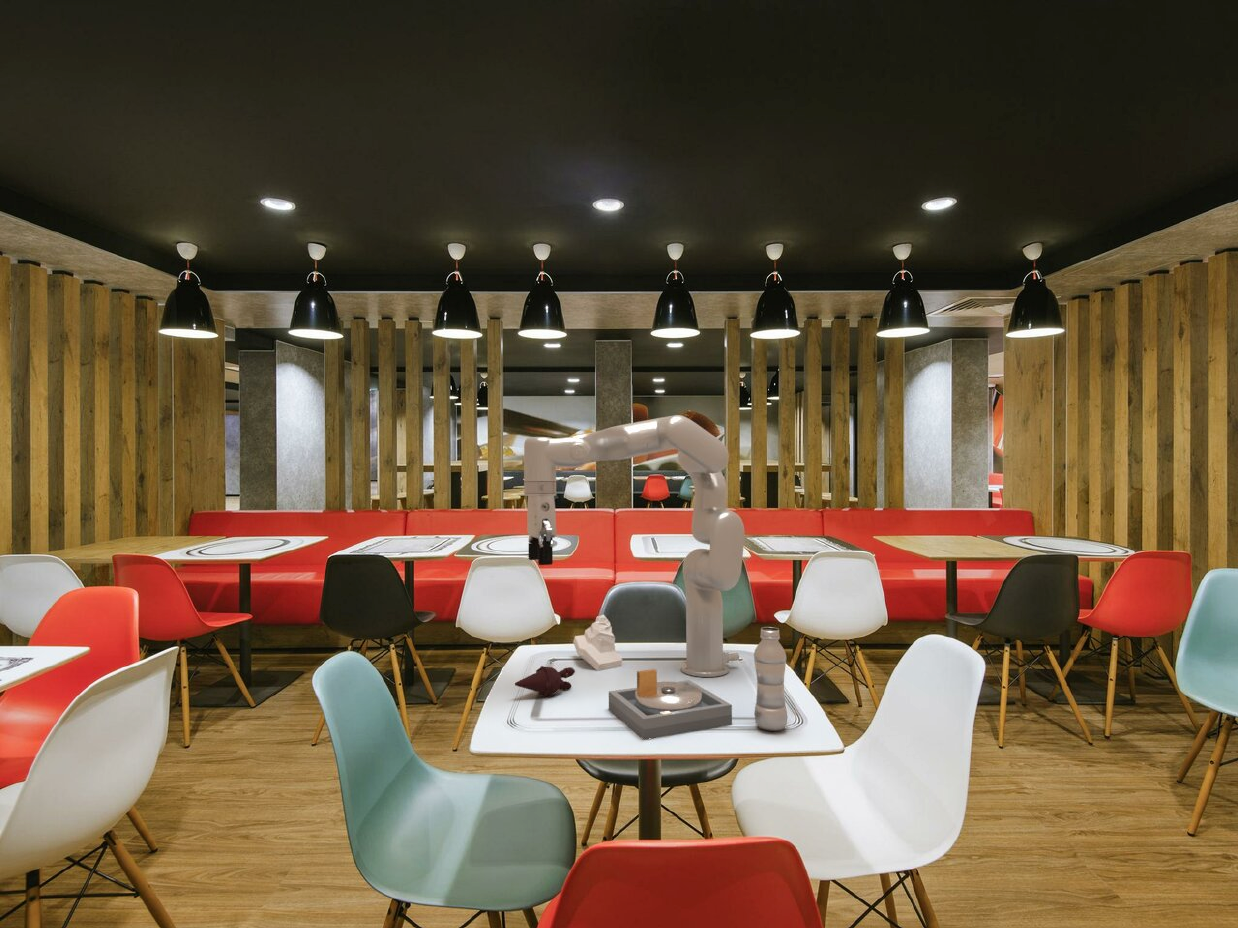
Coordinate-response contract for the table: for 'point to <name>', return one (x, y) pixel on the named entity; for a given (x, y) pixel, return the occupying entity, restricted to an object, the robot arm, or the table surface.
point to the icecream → (547, 680)
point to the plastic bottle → (770, 681)
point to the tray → (670, 714)
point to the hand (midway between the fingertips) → (540, 562)
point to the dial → (664, 694)
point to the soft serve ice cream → (598, 645)
